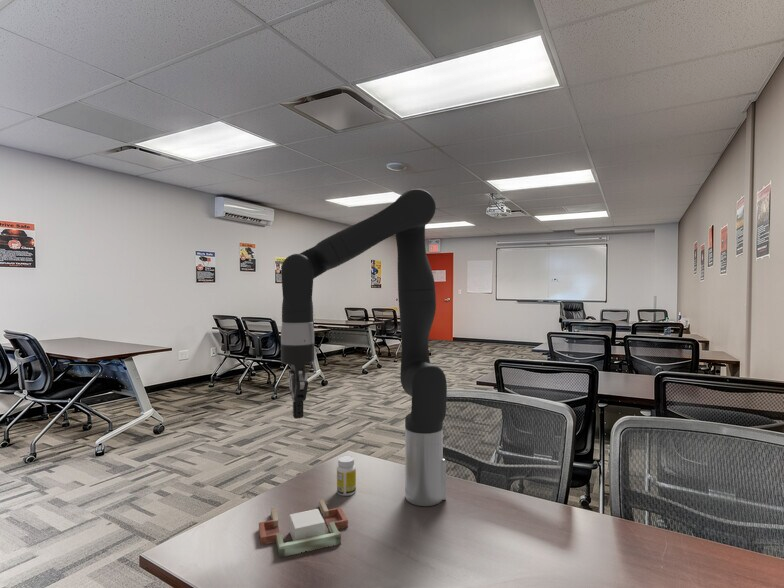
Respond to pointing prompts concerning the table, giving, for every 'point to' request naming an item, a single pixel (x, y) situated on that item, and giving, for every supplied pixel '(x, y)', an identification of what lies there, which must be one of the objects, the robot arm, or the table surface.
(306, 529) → the grey block
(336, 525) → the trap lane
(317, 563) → the table surface
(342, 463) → the supplement bottle
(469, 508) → the table surface
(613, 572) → the table surface
